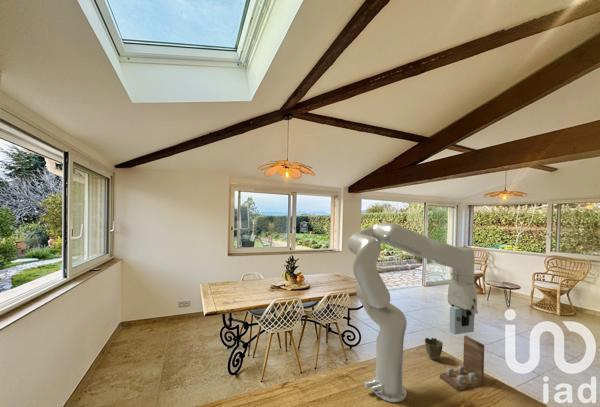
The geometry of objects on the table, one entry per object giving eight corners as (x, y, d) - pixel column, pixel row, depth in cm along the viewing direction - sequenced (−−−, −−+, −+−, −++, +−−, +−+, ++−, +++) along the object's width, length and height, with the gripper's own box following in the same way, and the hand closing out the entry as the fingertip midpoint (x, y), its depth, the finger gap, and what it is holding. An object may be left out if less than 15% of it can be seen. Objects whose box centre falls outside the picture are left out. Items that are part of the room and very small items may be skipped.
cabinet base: (456, 390, 101) (457, 349, 101) (439, 377, 109) (440, 339, 109) (484, 384, 105) (484, 344, 106) (465, 372, 113) (466, 335, 113)
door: (456, 335, 104) (457, 309, 104) (449, 331, 107) (450, 306, 107) (475, 332, 107) (476, 307, 107) (468, 329, 110) (468, 304, 110)
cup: (438, 354, 126) (438, 337, 126) (445, 363, 119) (445, 345, 119) (422, 353, 127) (422, 336, 127) (427, 362, 119) (428, 344, 119)
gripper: (439, 273, 114) (438, 316, 114) (474, 284, 99) (473, 334, 98) (452, 272, 116) (452, 315, 116) (489, 283, 101) (488, 332, 101)
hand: (461, 323), depth 107 cm, fingers closed on door, 2 cm apart
